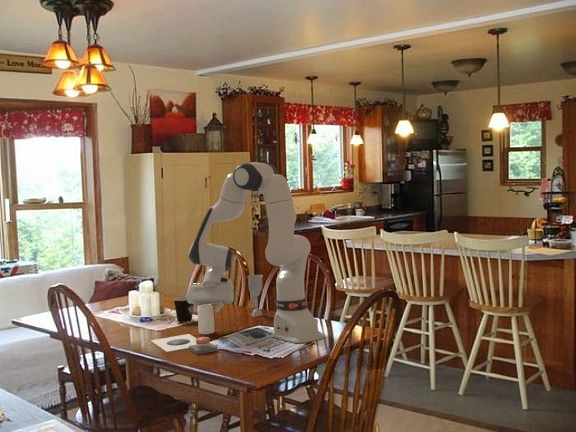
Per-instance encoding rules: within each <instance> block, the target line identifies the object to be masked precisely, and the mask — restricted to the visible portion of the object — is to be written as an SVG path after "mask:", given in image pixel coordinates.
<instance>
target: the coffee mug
mask: <svg viewBox="0 0 576 432" xmlns="http://www.w3.org/2000/svg"><path fill="white" fill-rule="evenodd" d="M173 303H174V308H175V314H176V319H177V322H178V321H180V322H179V323H189V322H192V321H191V320H193V311H194V310H193V309H194V305H193V304H189V303H188V302H187V300H186V296H181V297H179V296H178V297H176V298H174V299H173ZM188 321H189V322H188Z"/></svg>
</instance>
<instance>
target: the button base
mask: <svg viewBox="0 0 576 432" xmlns="http://www.w3.org/2000/svg"><path fill="white" fill-rule="evenodd" d="M188 350H189V351H190V352H191V353H194V354H195V355H198V356H199V355H202V354H207V353H212V352H218V346H216V345H214V344H213V343H211V341H210V342H209V343H207V344H197V345H191V346H189V348H188Z"/></svg>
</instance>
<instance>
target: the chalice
mask: <svg viewBox="0 0 576 432" xmlns="http://www.w3.org/2000/svg"><path fill="white" fill-rule="evenodd" d="M246 277H247V279H248V289H249V291H250V293H251V295H252V296H253V297H254V302H255V303H254V306H255V308H254V309H253V310H252V313H251V315H250V316H251V317H262V316H263V313H262V311H261V309H260V308H259V307H258V306H259V303H258V301H259V300H258V297H259V296H260V294H261V291H262V289H263V277H264V275H263V274H251V275H247V276H246Z"/></svg>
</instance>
